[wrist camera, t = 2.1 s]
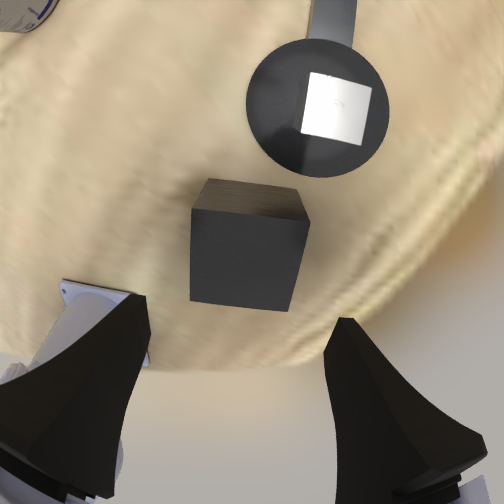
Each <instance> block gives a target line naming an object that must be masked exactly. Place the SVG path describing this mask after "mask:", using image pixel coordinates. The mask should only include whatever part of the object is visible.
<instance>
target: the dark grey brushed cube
mask: <svg viewBox="0 0 504 504" xmlns="http://www.w3.org/2000/svg"><path fill="white" fill-rule="evenodd" d="M309 227H310V220H309V218H308V215H307V213H306V211H305V208H304V206H303V204H302V201H301V199H300V196H299V194H298V192H297V190H296V189H289V188H283V187H276V186H268V185H261V184H253V183H245V182H237V181H228V180H219V179H208V181H207V182H206V184H205V186H204V187H203V189H202V191H201V193H200V194H199V196H198V198H197V200H196V201H195V203H194V205H193V207H192V213H191V241H190V301H194V302H202V303H210V304H218V305H226V306H234V307H243V308H252V309H262V310H272V311H283V312H288V309H289V305H290V302H291V298H292V294H293V290H294V287H295V283H296V279H297V275H298V271H299V268H300V264H301V260H302V256H303V252H304V248H305V244H306V240H307V235H308V231H309Z"/></svg>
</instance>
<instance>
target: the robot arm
mask: <svg viewBox="0 0 504 504" xmlns="http://www.w3.org/2000/svg"><path fill="white" fill-rule="evenodd" d="M59 287H60V291H61V294H62V297H63V300H64V303H65V306H66V308H65V310H64V311H63V313H62V314H61V316H60V317H59V319H58V320H57V322H56V323H55V325H54V326H53V328H52V329H51V331H50V332H49V334H48V335H47V337H46V339H45V340H44V342H43V343H42V345H41V347H40V348H39V350H38V352H37V353H36V355H35V357H34V358H33V360H32V362H31V363H30V365H29V366H27V367H26V366H25V365H24V364H23V363H21V362H19V363H18V364H17V363H14V364H11V365H10V366H9V367H8V369H7V370H6V372H5V373H4V375H3V376H2V378H1V380H0V504H93V503H94V502H95V500H96V499H97V498H98V497H102V498H105V499H109V498H111V497H113V496H114V485H115V481H116V479H117V477H118V475H119V473H120V470H121V467H122V463H123V448H122V442H121V438H120V435H121V430H122V425H123V420H124V416H125V411H126V408H127V405H128V402H129V399H130V396H131V394H132V391H133V388H134V385H135V383H136V380H137V378H138V375H139V372H140V370H141V367H142V366H143V367H148V366H149V359H148V354H147V348H148V344H149V340H150V336H151V331H150V324H149V317H148V310H147V303H146V296H143V295H137V294H132V293H127V292H121V291H116V290H110V289H105V288H100V287H94V286H89V285H84V284H79V283H75V282H70V281H65V280H61V281H60V282H59ZM323 353H324V368H325V377H326V382H327V386H328V392H329V397H330V402H331V407H332V412H333V416H334V422H335V429H336V440H337V490H336V501H335V504H490V500H489V496H488V491H487V487H486V484H485V480H484V476H483V475H481V476H479V477H477V478H475V479H474V480H472V481H470V482H468V483H466V484H464V485H462V486H460V487H458V484H457V482H459V481H461V479H462V478H461V475H460V473H461V472H463V471H465V470H466V469H468V468H470V467H471V466H473V465H474V464H476V463H477V462H479V461H480V460H482V459H483V458H484V457H486V456H487V453H488V452H487V449H486V446H485V443H484V440H483V437H482V435H481V434H479V433H477V432H475V431H473V430H471V429H469V428H467V427H465V426H464V425H462V424H460V423H459V422H457V421H455V420H454V419H452V418H451V417H449V416H448V415H446V414H445V413H443V412H442V411H441V410H439V409H438V408H437V407H436V406H434V405H433V404H432V403H430V402H429V401H428V400H427V399H426V398H424V397H423V396H422V395H421V394H420V393H419V392H418V391H417V390H416V389H415V388H414V387H413V386H411V385H410V384H409V383H408V382H407V381H406V380H405V379H404V378H403V376H402V375H401V374H400V373H399V372H398V371H397V370H396V369H395V368H394V367H393V365H392V364H391V363H390V362H389V361H388V360H387V358H386V357H385V356H384V355H383V354H382V352H381V351H380V350H379V349H378V348H377V346H376V345H375V344H374V343H373V341H372V340H371V339H370V338H369V336H368V335H367V334H366V333H365V331H364V330H363V329H362V328H361V326H360V325H359V324H358V323H357V322H356V320H355V319H354V318H342V317H339V318H338V321H337V323H336V325H335V328H334V330H333V332H332V335H331V337H330V339H329V341H328V344H327V346H326V348H325V350H324V352H323Z"/></svg>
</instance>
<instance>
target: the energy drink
mask: <svg viewBox="0 0 504 504" xmlns="http://www.w3.org/2000/svg"><path fill="white" fill-rule="evenodd" d="M57 1H58V0H0V32H17V33H24V32H28V31H30V30H32V29H34V28H35V27H36V26H38V25H39V24H40V23H41V22H42V21H44V19H45V18H46V17H47V16H48V15H49V14H50V12H51V11H52V10H53V8H54V6H55V5H56V3H57Z"/></svg>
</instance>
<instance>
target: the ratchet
mask: <svg viewBox="0 0 504 504" xmlns="http://www.w3.org/2000/svg"><path fill="white" fill-rule="evenodd" d="M356 8H357V0H311V6H310V14H309V21H308V28H307V35H306V39H302V40H297V41H293V42H290V43H287V44H285V45H283V46H281V47H279V48H277V49H276V50H274V51H273V52H271V53H270V54H269V55H268V56H267V57H266V58H265V59H264V60H263V61H262V62H261V63H260V64H259V66H258V67H257V68H256V70H255V72H254V74H253V76H252V78H251V80H250V83H249V86H248V91H247V97H246V110H247V117H248V122H249V125H250V128H251V131H252V133H253V135H254V137H255V139H256V141H257V142H258V143H259V145H260V146H261V148H262V149H263V150H264V151H265V152H266V153H267V155H268V156H270V157H271V158H272V159H273V160H274V161H275V162H277V163H278V164H280V165H281V166H283V167H284V168H286V169H288V170H290V171H292V172H295V173H298V174H301V175H305V176H309V177H318V178H319V177H334V176H339V175H342V174H346V173H348V172H351V171H353V170H355V169H356V168H358V167H360V166H361V165H363V164H364V163H365V162H367V161H368V160H369V159H370V158H371V157H372V156H373V155H374V153H375V152H376V151H377V150H378V148H379V147H380V145H381V143H382V141H383V139H384V137H385V134H386V131H387V128H388V123H389V101H388V96H387V92H386V89H385V87H384V84H383V82H382V80H381V78H380V76H379V74H378V73H377V72H376V70H375V69H374V67H373V66H372V65H371V64H370V63H369V62H368V61H367V60H366V59H365V58H364V57H363V56H361V55H360V54H359V53H358V52H356V51H354V50H353V49H352V43H353V35H354V26H355V17H356Z"/></svg>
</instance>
